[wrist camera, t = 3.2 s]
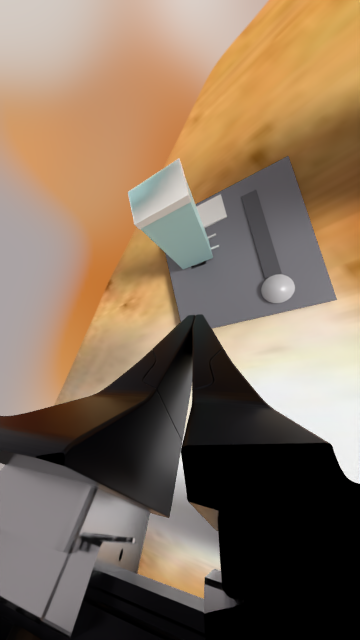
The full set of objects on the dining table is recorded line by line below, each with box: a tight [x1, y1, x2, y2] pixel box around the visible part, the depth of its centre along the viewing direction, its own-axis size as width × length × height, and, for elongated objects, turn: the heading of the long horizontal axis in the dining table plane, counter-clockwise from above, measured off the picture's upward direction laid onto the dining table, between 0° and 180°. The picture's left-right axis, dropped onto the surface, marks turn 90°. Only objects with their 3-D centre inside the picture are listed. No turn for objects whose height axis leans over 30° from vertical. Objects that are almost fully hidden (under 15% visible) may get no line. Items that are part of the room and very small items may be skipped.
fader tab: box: [128, 159, 213, 269], centre depth 16 cm, size 3×4×11 cm, turn 103°
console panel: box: [165, 156, 337, 328], centre depth 19 cm, size 16×16×1 cm
